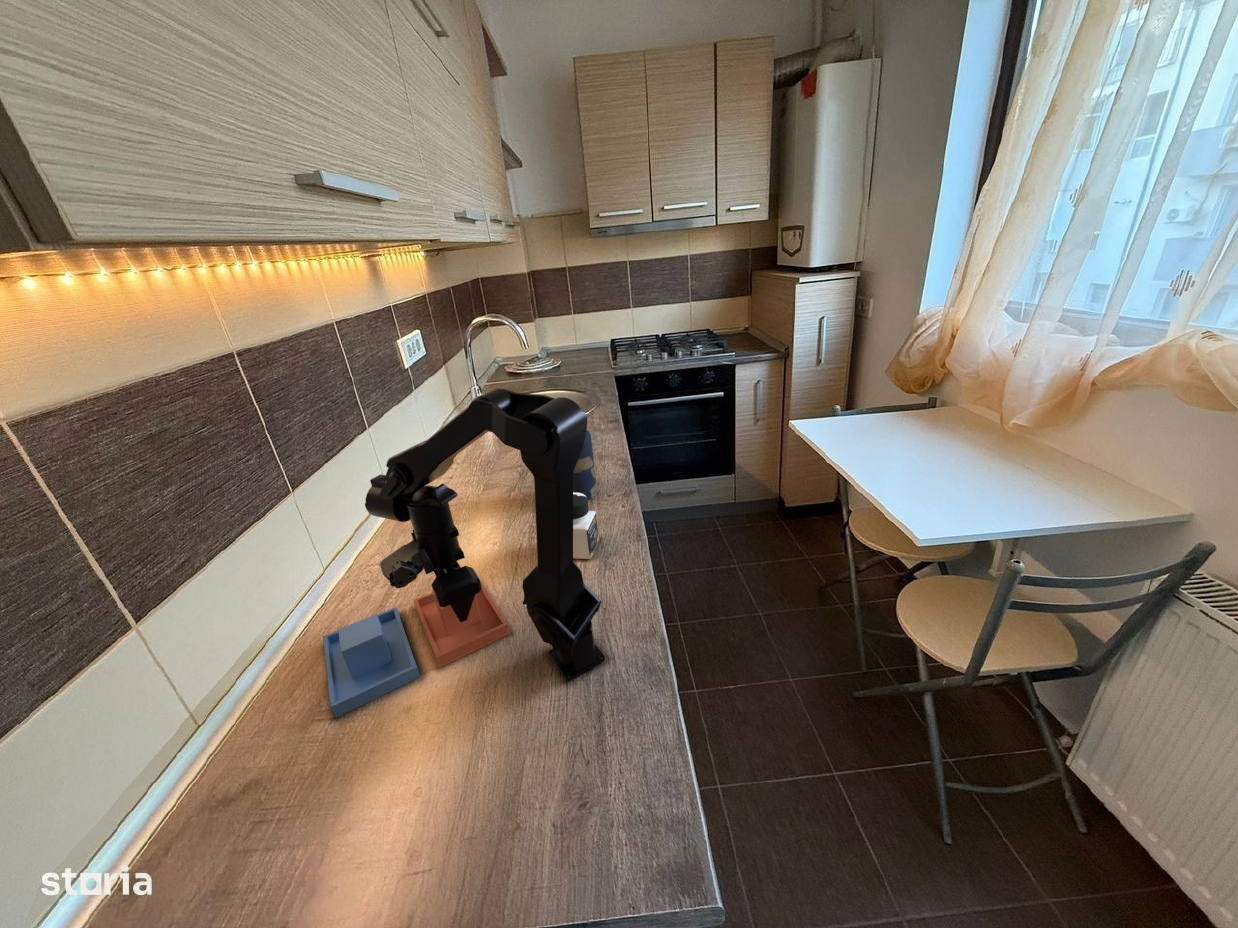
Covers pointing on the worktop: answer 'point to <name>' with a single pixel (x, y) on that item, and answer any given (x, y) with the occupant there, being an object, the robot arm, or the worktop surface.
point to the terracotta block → (453, 622)
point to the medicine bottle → (583, 528)
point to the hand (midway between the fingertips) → (455, 605)
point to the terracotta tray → (465, 639)
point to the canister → (585, 470)
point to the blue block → (364, 646)
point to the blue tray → (376, 682)
